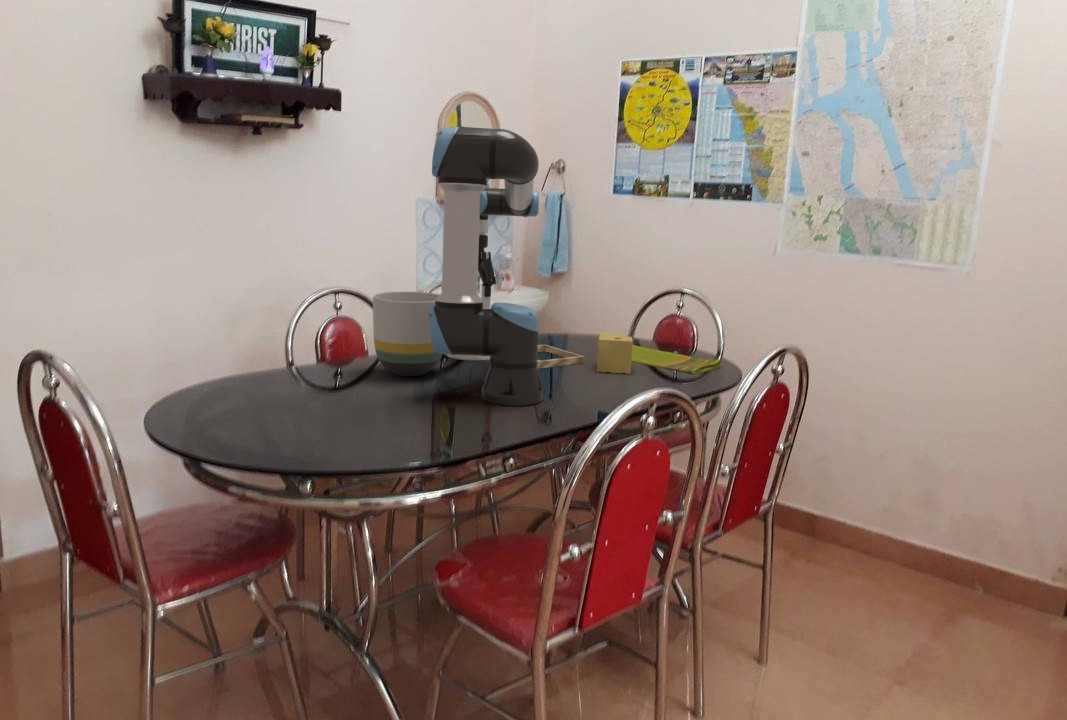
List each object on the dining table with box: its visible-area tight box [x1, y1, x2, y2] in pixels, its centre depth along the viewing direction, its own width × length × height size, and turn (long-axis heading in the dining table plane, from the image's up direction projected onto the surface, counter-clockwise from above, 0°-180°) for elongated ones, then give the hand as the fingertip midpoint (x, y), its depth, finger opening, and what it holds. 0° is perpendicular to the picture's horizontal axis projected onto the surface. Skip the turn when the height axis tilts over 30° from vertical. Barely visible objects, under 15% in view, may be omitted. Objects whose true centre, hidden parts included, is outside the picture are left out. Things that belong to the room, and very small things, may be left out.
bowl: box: [445, 354, 490, 362], centre depth 256 cm, size 16×16×3 cm
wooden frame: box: [537, 344, 586, 370], centre depth 254 cm, size 18×20×2 cm
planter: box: [372, 291, 443, 377], centre depth 226 cm, size 20×20×21 cm
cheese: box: [596, 332, 634, 375], centre depth 244 cm, size 10×11×10 cm
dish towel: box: [632, 344, 722, 376], centre depth 259 cm, size 15×36×3 cm, turn 50°
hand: (473, 304), depth 252 cm, fingers open, 13 cm apart
